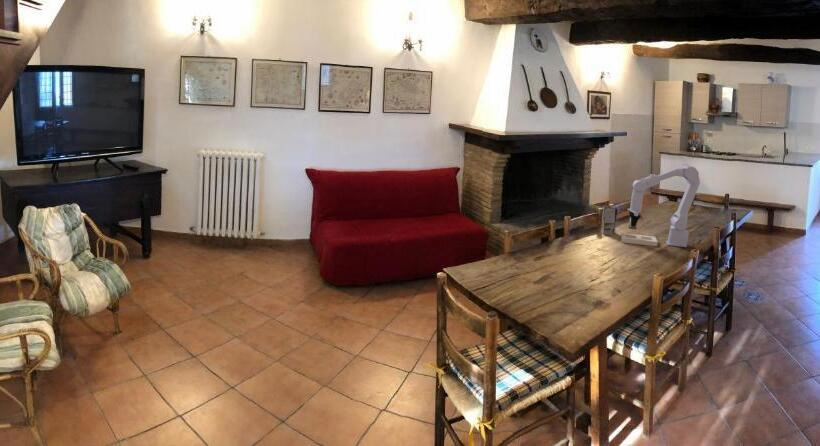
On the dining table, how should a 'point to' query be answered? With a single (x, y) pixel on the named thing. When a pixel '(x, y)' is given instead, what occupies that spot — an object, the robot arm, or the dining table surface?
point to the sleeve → (630, 225)
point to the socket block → (638, 239)
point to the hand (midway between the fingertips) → (632, 225)
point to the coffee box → (608, 220)
